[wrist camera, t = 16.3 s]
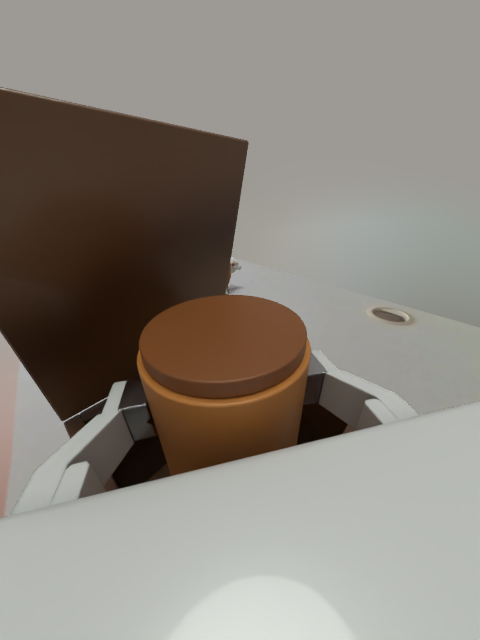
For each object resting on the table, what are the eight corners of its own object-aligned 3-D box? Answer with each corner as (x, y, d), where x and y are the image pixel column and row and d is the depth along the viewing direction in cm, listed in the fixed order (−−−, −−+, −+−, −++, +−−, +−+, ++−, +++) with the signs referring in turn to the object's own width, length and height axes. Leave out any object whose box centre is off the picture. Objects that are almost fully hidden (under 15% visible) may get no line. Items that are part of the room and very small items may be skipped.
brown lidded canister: (313, 452, 12) (343, 319, 8) (234, 579, 8) (219, 439, 4) (231, 394, 16) (225, 283, 12) (150, 461, 12) (101, 329, 8)
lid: (249, 141, 11) (238, 138, 12) (-198, 44, 4) (-190, 45, 4) (219, 334, 19) (213, 329, 20) (62, 422, 12) (57, 411, 12)
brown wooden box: (337, 503, 17) (370, 418, 12) (229, 741, 10) (208, 759, 5) (223, 411, 25) (217, 336, 20) (114, 505, 17) (63, 422, 13)
